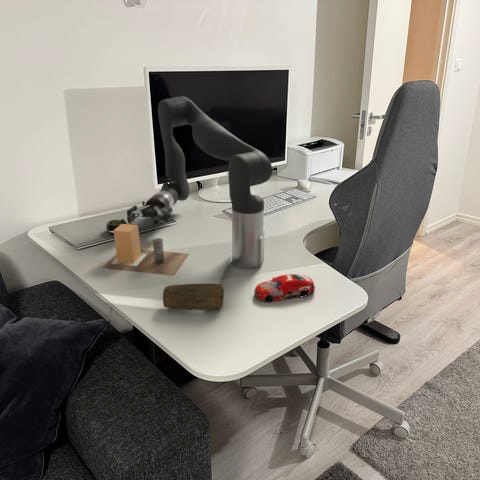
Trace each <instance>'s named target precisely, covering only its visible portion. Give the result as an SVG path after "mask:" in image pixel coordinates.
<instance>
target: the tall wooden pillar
mask: <svg viewBox="0 0 480 480" xmlns="http://www.w3.org/2000/svg"><path fill="white" fill-rule="evenodd" d="M113 236H114V245H115V254H117V262H126V263H135V262H136V261H137V259H138V258H139V257H140V256H141V251H140V249H141V242H140V233H139V225H138V224H130V223H126V224H121V225H120V226H118V227H117V228H116V229H115V230H114V234H113Z"/></svg>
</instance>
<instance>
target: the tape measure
mask: <svg viewBox="0 0 480 480" xmlns="http://www.w3.org/2000/svg"><path fill="white" fill-rule="evenodd" d="M121 224H127V220H125V219H123V218H122V219H112V220H109V221H107V223H106V231H107V230H108V231H114V230H115V229H116V228H117V227H118V226H120V225H121ZM108 231H107V232H108Z"/></svg>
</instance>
